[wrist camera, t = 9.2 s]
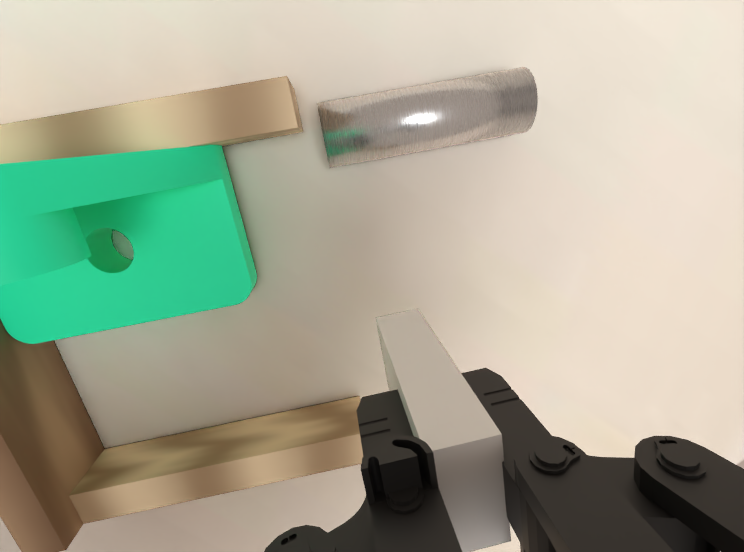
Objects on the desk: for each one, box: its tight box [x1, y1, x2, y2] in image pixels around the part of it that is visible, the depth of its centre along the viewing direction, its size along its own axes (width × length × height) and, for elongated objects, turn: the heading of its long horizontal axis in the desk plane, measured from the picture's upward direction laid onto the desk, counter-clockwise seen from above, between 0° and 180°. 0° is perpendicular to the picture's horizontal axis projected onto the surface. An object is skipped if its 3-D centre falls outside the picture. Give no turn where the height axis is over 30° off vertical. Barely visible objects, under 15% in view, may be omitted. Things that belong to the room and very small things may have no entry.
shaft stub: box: [317, 67, 537, 168], centre depth 19 cm, size 10×3×3 cm
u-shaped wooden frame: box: [0, 76, 363, 552], centre depth 20 cm, size 18×20×5 cm
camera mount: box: [0, 145, 257, 344], centre depth 16 cm, size 12×8×10 cm, turn 100°
